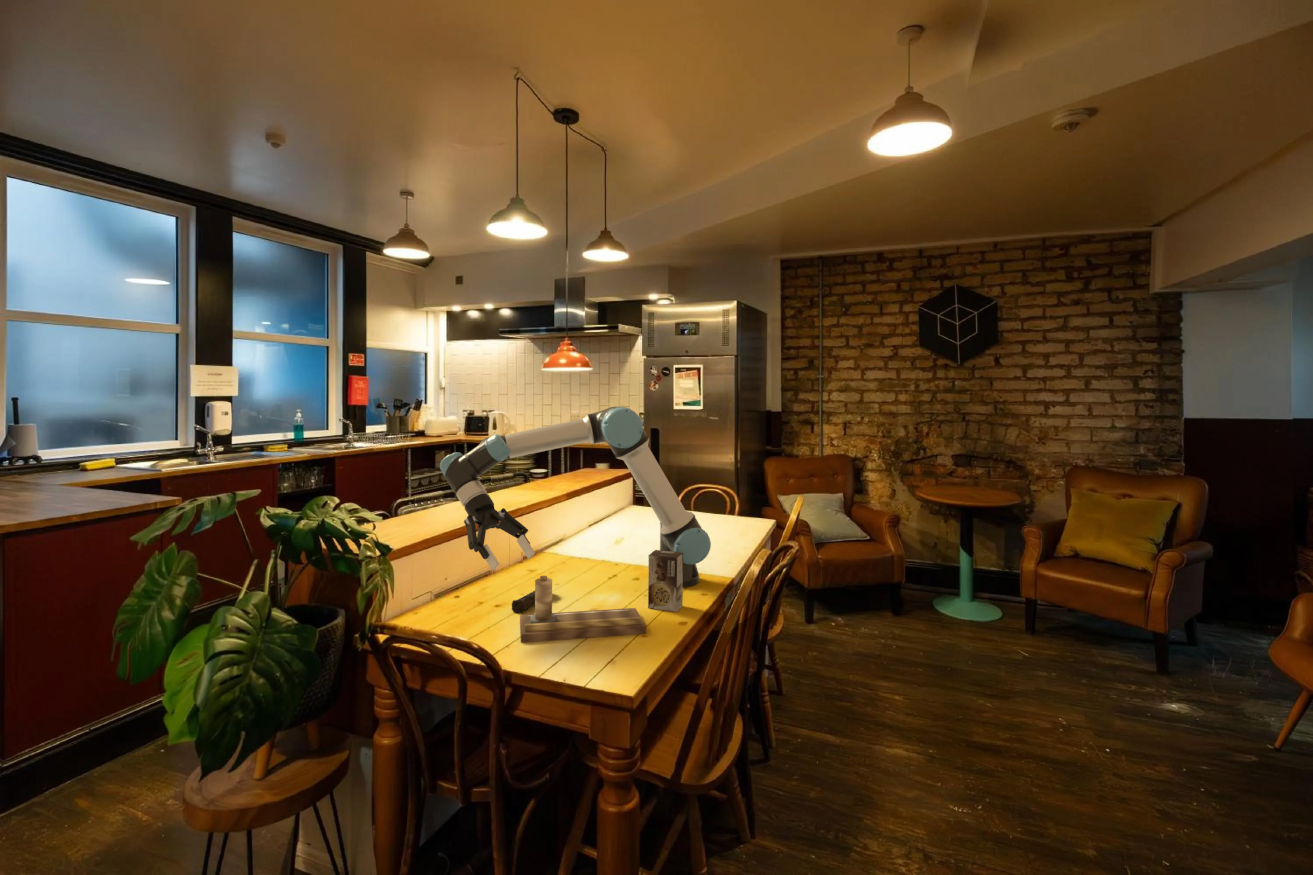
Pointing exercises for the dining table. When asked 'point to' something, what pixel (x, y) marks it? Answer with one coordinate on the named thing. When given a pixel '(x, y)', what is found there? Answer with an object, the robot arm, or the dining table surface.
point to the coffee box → (665, 580)
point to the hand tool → (523, 603)
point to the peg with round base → (543, 601)
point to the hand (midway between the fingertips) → (514, 561)
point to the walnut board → (583, 625)
